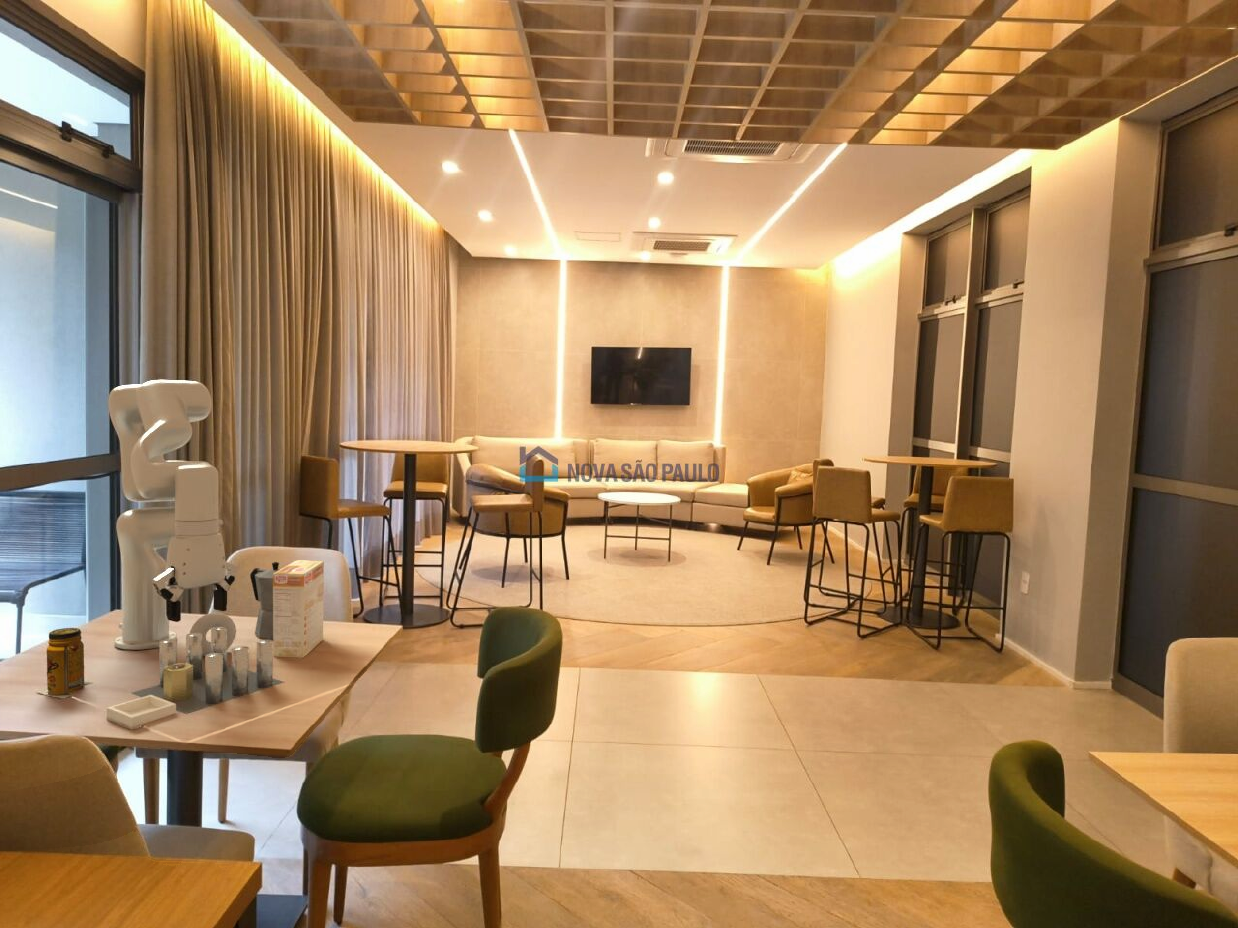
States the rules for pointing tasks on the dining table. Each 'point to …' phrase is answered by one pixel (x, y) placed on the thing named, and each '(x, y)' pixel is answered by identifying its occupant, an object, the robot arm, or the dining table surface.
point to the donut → (212, 622)
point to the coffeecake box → (298, 608)
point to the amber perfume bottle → (178, 682)
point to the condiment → (65, 663)
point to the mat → (198, 696)
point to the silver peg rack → (220, 663)
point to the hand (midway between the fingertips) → (197, 615)
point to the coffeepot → (264, 600)
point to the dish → (140, 711)
